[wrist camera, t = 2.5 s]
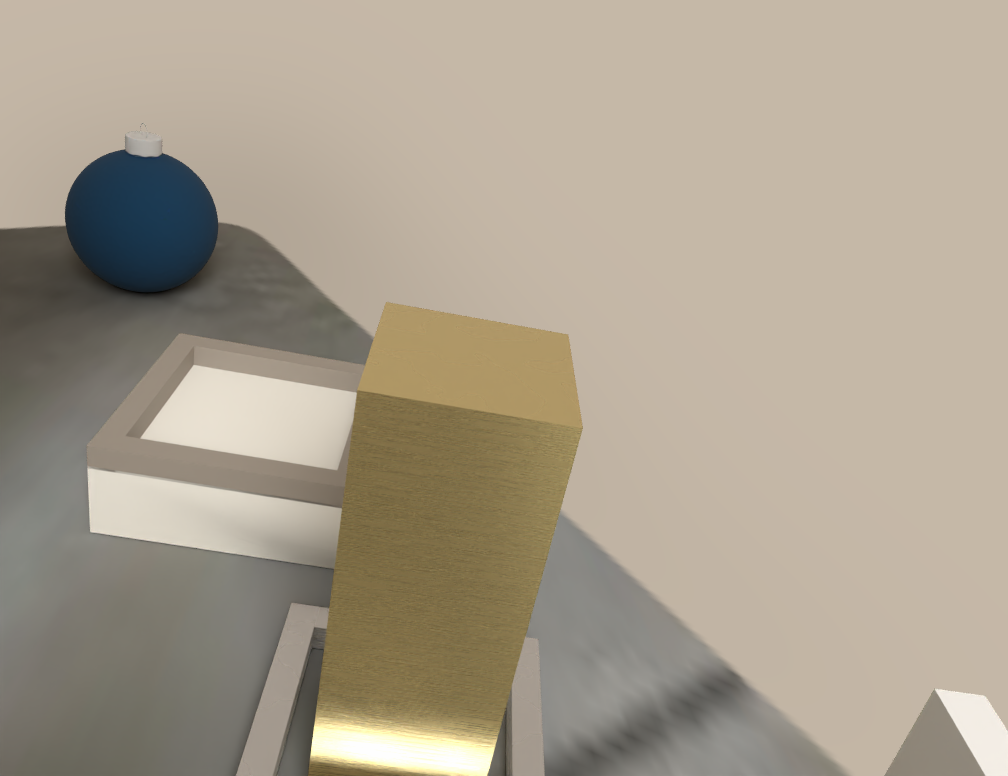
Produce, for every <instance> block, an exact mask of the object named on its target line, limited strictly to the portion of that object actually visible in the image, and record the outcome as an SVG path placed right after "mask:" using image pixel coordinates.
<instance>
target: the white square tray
mask: <svg viewBox="0 0 1008 776" xmlns="http://www.w3.org/2000/svg"><path fill="white" fill-rule="evenodd" d="M364 368H365V365H361V364H355V363H349V362H344V361H338V360H332V359H326V358H320V357H315V356H309V355H303V354H297V353H292V352H286V351H280V350H274V349H269V348H263V347H257V346H251V345H245V344H240V343H234V342H228V341H222V340H217V339H211V338H205V337H199V336H194V335H188V334H182V333H179V334H178V336H177V337H176V338H175V339H174V340H173V342H172V343H171V344H170V345H169V346H168V348H167V349H166V350H165V351H164V352H163V354H162V355H161V356H160V357H159V359H158V360H157V361H156V362H155V363H154V365H153V366H152V367H151V368H150V369H149V371H148V372H147V373H146V374H145V376H144V377H143V378H142V379H141V380H140V382H139V383H138V384H137V385H136V386H135V388H134V389H133V390H132V391H131V392H130V394H129V395H128V396H127V397H126V399H125V400H124V401H123V402H122V403H121V405H120V406H119V407H118V408H117V409H116V411H115V412H114V413H113V414H112V416H111V417H110V418H109V419H108V420H107V422H106V423H105V424H104V425H103V426H102V428H101V429H100V430H99V431H98V433H97V434H96V435H95V436H94V437H93V439H92V440H91V441H90V442H89V443H88V445H87V468H88V492H89V516H90V532H93V533H100V534H107V535H113V536H120V537H126V538H133V539H140V540H146V541H153V542H159V543H166V544H173V545H179V546H186V547H192V548H199V549H206V550H212V551H219V552H225V553H232V554H239V555H245V556H252V557H258V558H265V559H272V560H278V561H285V562H291V563H298V564H305V565H311V566H318V567H324V568H331V569H334V568H335V560H336V552H337V544H338V536H339V529H340V521H341V513H342V505H343V497H344V489H345V481H346V474H347V466H348V458H349V450H350V442H351V434H352V427H353V419H354V411H355V403H356V395H357V389H358V386H359V383H360V380H361V377H362V374H363V371H364Z"/></svg>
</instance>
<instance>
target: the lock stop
mask: <svg viewBox="0 0 1008 776" xmlns="http://www.w3.org/2000/svg"><path fill="white" fill-rule="evenodd" d="M582 429H583V426H582V420H581V414H580V407H579V401H578V395H577V388H576V382H575V375H574V369H573V363H572V356H571V350H570V343H569V337H568V335H567V334H562V333H556V332H551V331H545V330H539V329H534V328H528V327H523V326H517V325H511V324H505V323H500V322H495V321H489V320H484V319H478V318H472V317H467V316H461V315H456V314H450V313H444V312H439V311H433V310H428V309H422V308H416V307H410V306H405V305H399V304H393V303H388V302H386V304H385V307H384V310H383V313H382V316H381V319H380V322H379V325H378V328H377V331H376V334H375V337H374V340H373V343H372V346H371V349H370V352H369V356H368V359H367V362H366V365H365V368H364V371H363V374H362V377H361V380H360V383H359V386H358V389H357V395H356V403H355V411H354V419H353V427H352V434H351V442H350V450H349V458H348V466H347V474H346V481H345V489H344V497H343V505H342V513H341V521H340V529H339V536H338V544H337V552H336V560H335V568H334V576H333V583H332V591H331V599H330V607H329V615H328V623H327V631H326V638H325V646H324V654H323V662H322V670H321V678H320V686H319V693H318V701H317V709H316V717H315V725H314V733H313V740H312V748H311V756H310V764H309V772H308V776H487V774H488V770H489V767H490V763H491V760H492V756H493V752H494V749H495V745H496V741H497V738H498V734H499V731H500V727H501V723H502V720H503V716H504V712H505V709H506V705H507V702H508V698H509V694H510V691H511V687H512V683H513V680H514V676H515V672H516V669H517V665H518V662H519V658H520V654H521V651H522V647H523V643H524V640H525V636H526V633H527V629H528V625H529V622H530V618H531V614H532V611H533V607H534V603H535V600H536V596H537V593H538V589H539V585H540V582H541V578H542V574H543V571H544V567H545V564H546V560H547V556H548V553H549V549H550V545H551V542H552V538H553V535H554V531H555V527H556V524H557V520H558V516H559V513H560V509H561V505H562V502H563V498H564V494H565V491H566V487H567V484H568V480H569V476H570V473H571V469H572V465H573V461H574V458H575V455H576V451H577V447H578V443H579V440H580V436H581V433H582Z"/></svg>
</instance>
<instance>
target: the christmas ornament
mask: <svg viewBox="0 0 1008 776" xmlns="http://www.w3.org/2000/svg"><path fill="white" fill-rule="evenodd" d="M142 124H143V123H142ZM140 127H141V126H140ZM65 208H66V209H65V222H66V229H67V233H68V236H69V239H70V242H71V244H72V246H73V248H74V250H75V252H76V253H77V255H78V256H79V258H80V259H81V261H82V262H83V263H84V264H85V265H86V266H87V267H88V268H89V269H90V270H91V271H92V272H93V273H94V274H96V275H97V276H98V277H100V278H101V279H103V280H105V281H106V282H108V283H110V284H112V285H115V286H117V287H120V288H123V289H126V290H130V291H137V292H158V291H164V290H168V289H171V288H174V287H177V286H179V285H181V284H183V283H185V282H187V281H188V280H190V279H191V278H192V277H194V276H195V275H196V274H197V273H198V272H199V271H200V270H201V269H202V268H203V267H204V266H205V264H206V263H207V261H208V260H209V258H210V256H211V254H212V252H213V250H214V247H215V244H216V240H217V234H218V218H217V212H216V207H215V204H214V202H213V199H212V197H211V195H210V192H209V191H208V189H207V188H206V186H205V184H204V183H203V182H202V180H201V179H200V178H199V177H198V176H197V175H196V174H195V173H194V172H193V171H192V170H191V169H190V168H189V167H187V166H186V165H185V164H183V163H182V162H180V161H178V160H177V159H175V158H173V157H171V156H169V155H166V154H163V153H162V137H161V136H159V135H157V134H153V133H148V132H141V131H139V132H138V131H137V132H136V131H132V132H128V133H126V134H125V150H120V151H115V152H112V153H109V154H106V155H104V156H102V157H100V158H98V159H97V160H95V161H94V162H92V163H91V164H90V165H88V166H87V167H86V168H85V169H84V170H83V171H82V172H81V173H80V174H79V176H78V177H77V178H76V180H75V181H74V183H73V185H72V187H71V189H70V192H69V194H68V198H67V201H66V207H65Z"/></svg>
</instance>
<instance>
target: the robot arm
mask: <svg viewBox="0 0 1008 776" xmlns="http://www.w3.org/2000/svg"><path fill="white" fill-rule="evenodd" d="M885 776H1008V731H1007V729H1006V728H1005V726H1004V724H1003V723H1002V721H1001V720H1000V718H999V717H998V715H997V714H996V712H995V711H994V709H993V707H992V706H991V704H990V703H989V701H988V700H987V698H986V697H985V696H982V695H975V694H968V693H961V692H954V691H946V690H940V689H934V691H933V692H932V694H931V696H930V697H929V699H928V701H927V703H926V705H925V706H924V708H923V710H922V712H921V713H920V715H919V717H918V718H917V720H916V722H915V724H914V725H913V727H912V729H911V731H910V732H909V734H908V736H907V738H906V739H905V741H904V743H903V745H902V746H901V748H900V750H899V752H898V753H897V755H896V757H895V758H894V760H893V762H892V764H891V766H890V767H889V769H888V771H887V772H886V774H885Z"/></svg>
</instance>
